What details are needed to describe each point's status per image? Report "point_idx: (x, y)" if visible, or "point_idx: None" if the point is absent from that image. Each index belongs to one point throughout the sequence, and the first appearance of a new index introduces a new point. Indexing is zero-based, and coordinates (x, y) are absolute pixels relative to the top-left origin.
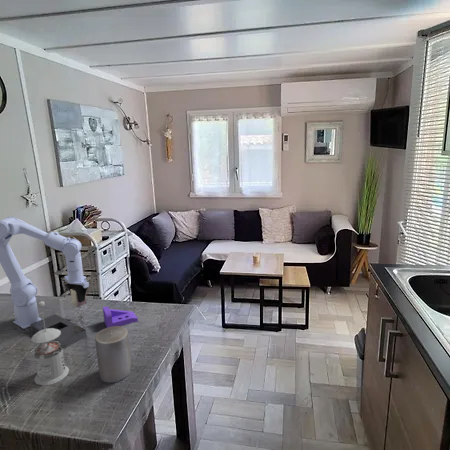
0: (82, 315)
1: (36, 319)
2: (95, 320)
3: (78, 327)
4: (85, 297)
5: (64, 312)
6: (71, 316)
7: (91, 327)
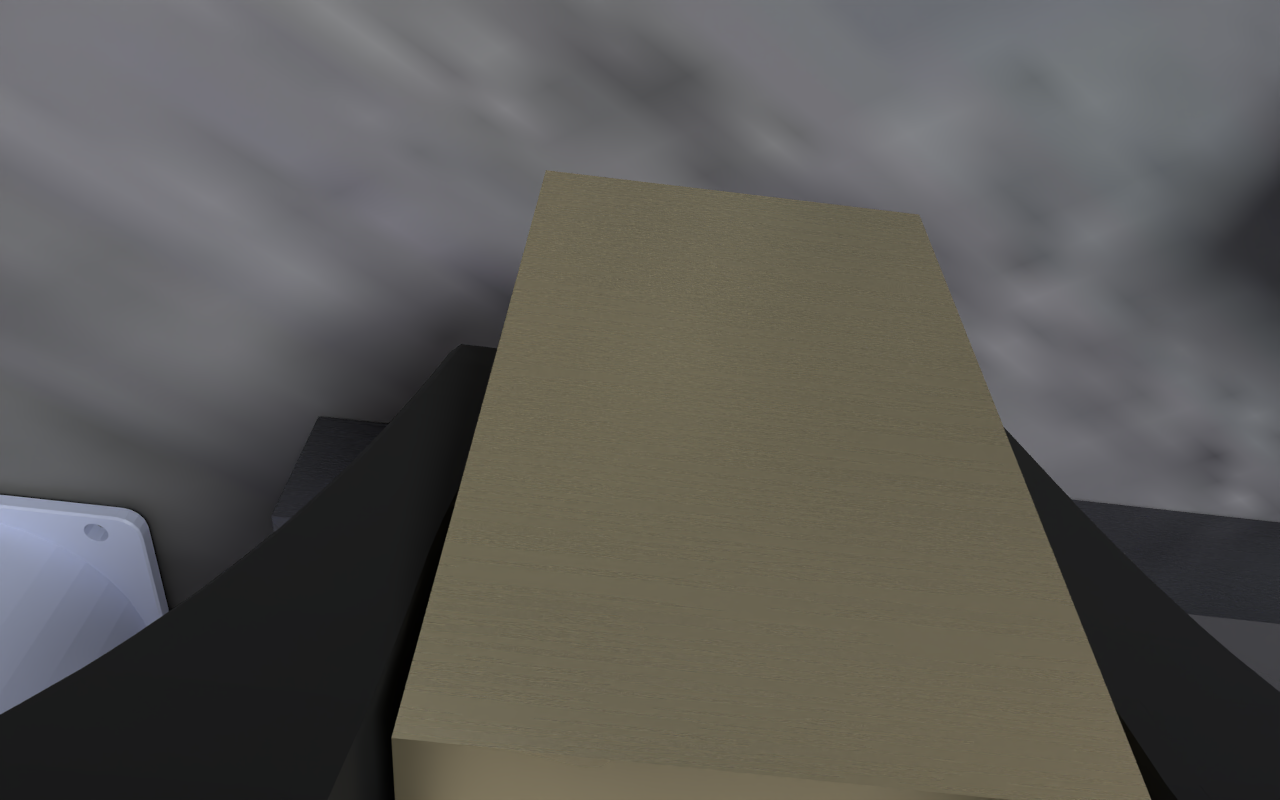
0: (596, 11)
1: (104, 630)
2: (1142, 43)
3: (1223, 643)
4: (966, 370)
5: (48, 115)
6: (401, 172)
7: (1246, 300)
